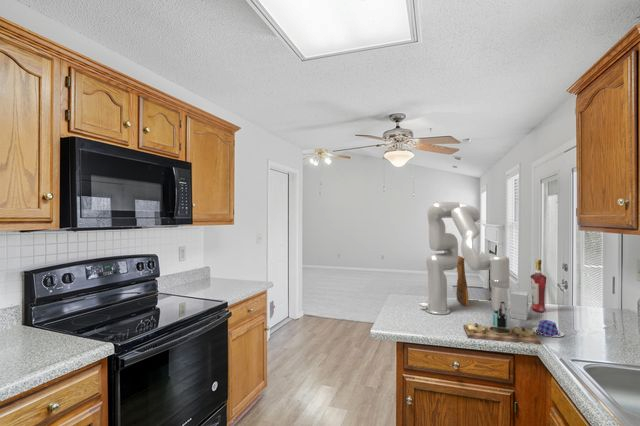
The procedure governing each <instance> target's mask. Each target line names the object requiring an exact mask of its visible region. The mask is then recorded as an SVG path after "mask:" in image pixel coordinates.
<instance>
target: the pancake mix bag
mask: <svg viewBox="0 0 640 426" xmlns="http://www.w3.org/2000/svg"><path fill="white" fill-rule="evenodd" d="M465 270H466V269H465V259H464V257H463V256H460V255H458V265H457V267H456V272H457V279H456V281H457V282H456V301H457V303H459V305H460V306H463V307H464V306H465V307H466V306H469V304H470V303H469V300H470V299H469V292H468V291H469V290H468V283H467V278H466V271H465Z"/></svg>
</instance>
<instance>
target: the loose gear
mask: <svg viewBox="0 0 640 426" xmlns="http://www.w3.org/2000/svg"><path fill="white" fill-rule="evenodd" d="M497 318H498V313H494V312H493V313H492V326H495V327H498V326H497ZM500 328H504V327H500ZM505 328H508V315H507V314H506V327H505Z"/></svg>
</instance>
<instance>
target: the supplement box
mask: <svg viewBox="0 0 640 426" xmlns="http://www.w3.org/2000/svg"><path fill="white" fill-rule="evenodd" d="M528 317H529V292H525V291H517V290H516V291H515V290H513V291H511V292H510V318H512V319H516V320H522V321H527V320H528Z"/></svg>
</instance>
